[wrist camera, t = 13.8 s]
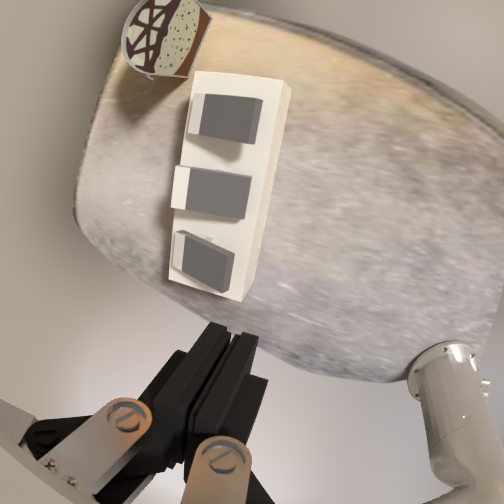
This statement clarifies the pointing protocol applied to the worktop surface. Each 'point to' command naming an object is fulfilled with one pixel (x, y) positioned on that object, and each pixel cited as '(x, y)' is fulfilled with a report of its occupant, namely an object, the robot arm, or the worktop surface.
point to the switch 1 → (225, 117)
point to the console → (240, 162)
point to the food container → (164, 37)
